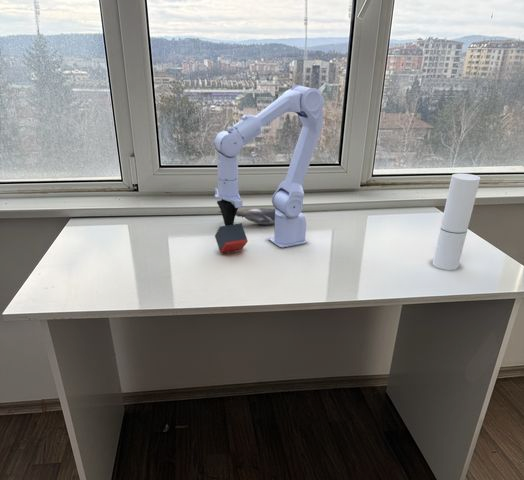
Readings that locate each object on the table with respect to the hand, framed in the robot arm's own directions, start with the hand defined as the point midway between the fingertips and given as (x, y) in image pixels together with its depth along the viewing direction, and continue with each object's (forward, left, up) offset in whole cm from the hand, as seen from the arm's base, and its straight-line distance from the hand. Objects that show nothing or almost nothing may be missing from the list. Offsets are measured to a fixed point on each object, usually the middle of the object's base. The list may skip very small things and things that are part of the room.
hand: (229, 225), depth 146 cm
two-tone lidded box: (0, -1, -2) cm, 2 cm away
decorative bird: (-18, -18, -8) cm, 27 cm away
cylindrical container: (-52, +37, -8) cm, 65 cm away
